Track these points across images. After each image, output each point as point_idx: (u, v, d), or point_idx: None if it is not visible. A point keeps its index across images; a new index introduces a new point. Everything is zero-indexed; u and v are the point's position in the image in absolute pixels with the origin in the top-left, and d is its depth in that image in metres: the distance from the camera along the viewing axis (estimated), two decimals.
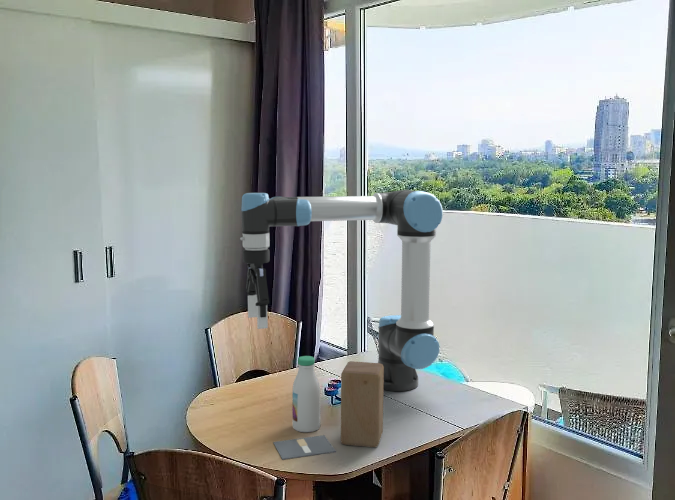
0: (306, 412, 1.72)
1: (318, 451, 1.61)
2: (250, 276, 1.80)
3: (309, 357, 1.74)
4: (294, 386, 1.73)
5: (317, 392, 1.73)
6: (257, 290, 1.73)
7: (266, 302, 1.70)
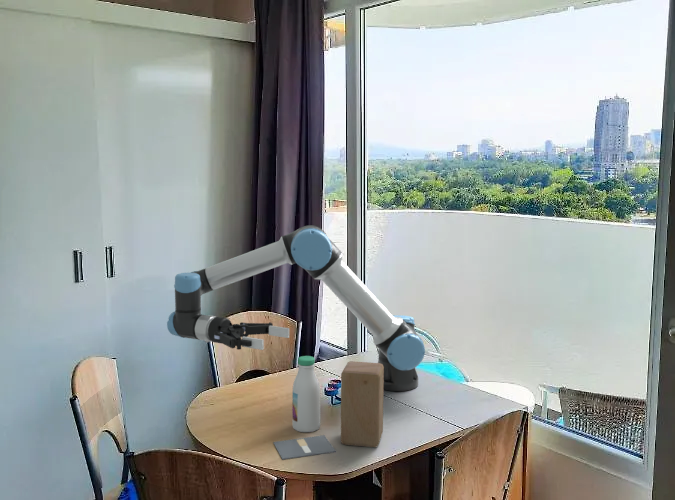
0: (306, 412, 1.72)
1: (318, 451, 1.61)
2: (241, 335, 1.85)
3: (309, 357, 1.74)
4: (294, 386, 1.73)
5: (317, 392, 1.73)
6: None
7: (231, 341, 1.72)
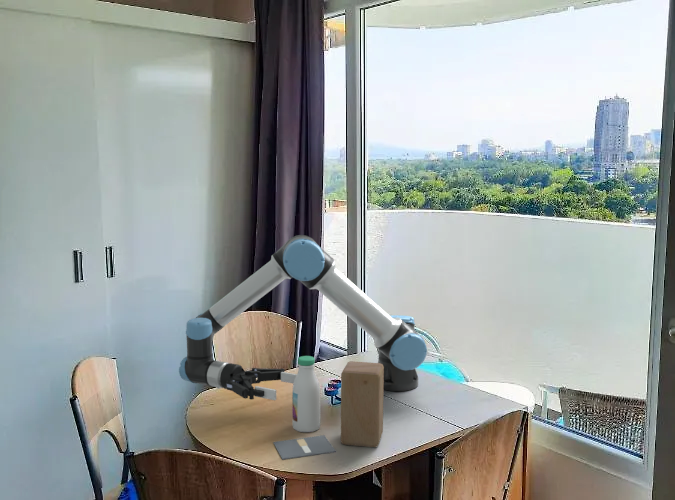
0: (306, 412, 1.72)
1: (318, 451, 1.61)
2: None
3: (309, 357, 1.74)
4: (294, 386, 1.73)
5: (317, 392, 1.73)
6: None
7: (244, 392, 1.71)
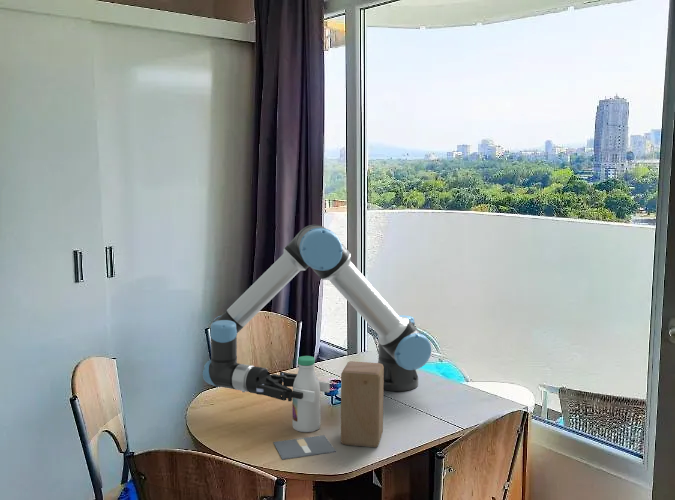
0: (306, 412, 1.72)
1: (318, 451, 1.61)
2: None
3: (309, 357, 1.74)
4: (294, 386, 1.73)
5: (317, 392, 1.73)
6: None
7: (283, 394, 1.70)
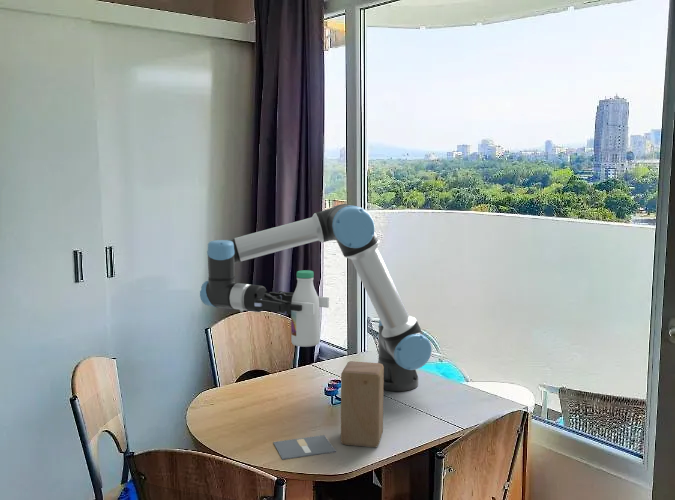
0: (305, 326, 1.69)
1: (318, 451, 1.61)
2: None
3: (308, 271, 1.71)
4: (293, 300, 1.70)
5: (316, 306, 1.70)
6: None
7: (281, 306, 1.66)
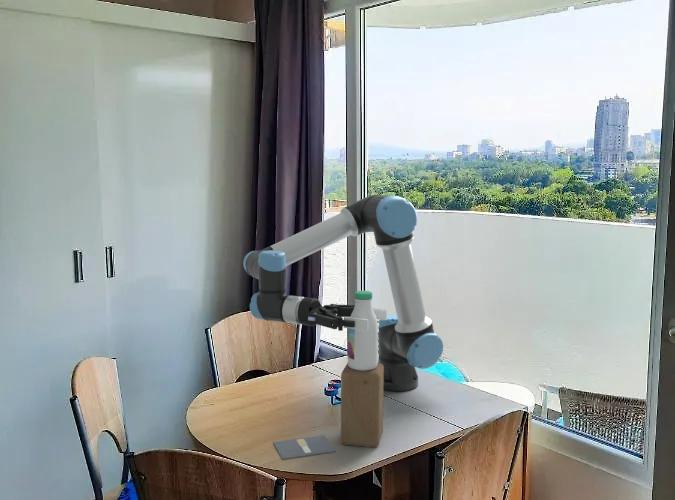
0: (364, 349, 1.62)
1: (318, 451, 1.61)
2: None
3: (366, 291, 1.64)
4: None
5: (375, 328, 1.63)
6: None
7: (333, 322, 1.58)
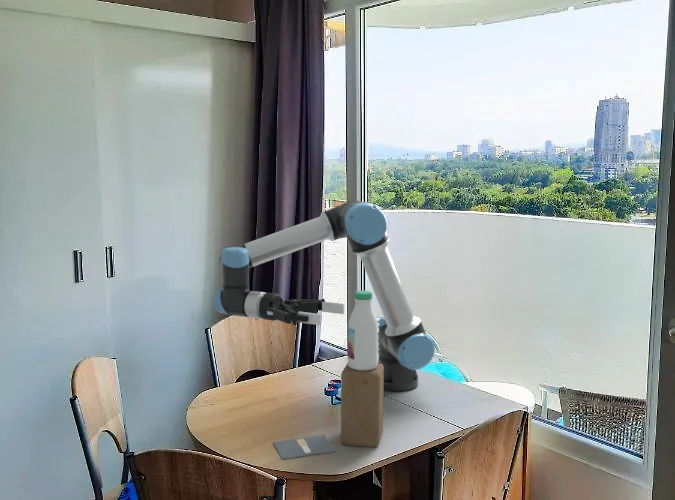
0: (364, 349, 1.62)
1: (318, 451, 1.61)
2: None
3: (366, 291, 1.64)
4: (351, 322, 1.63)
5: (375, 328, 1.63)
6: None
7: (287, 317, 1.63)
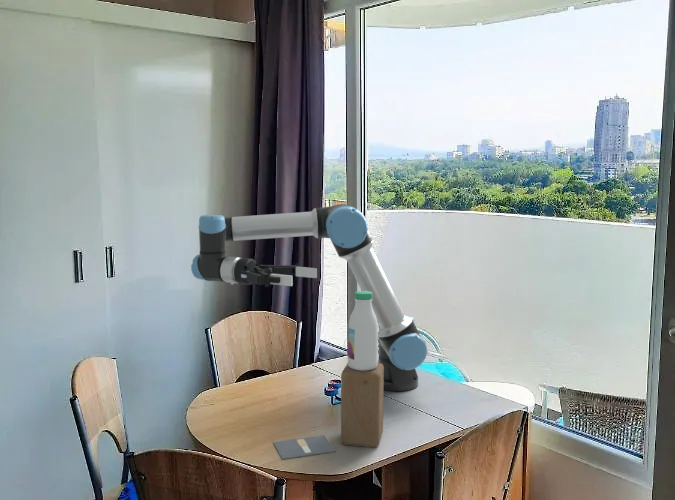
0: (364, 349, 1.62)
1: (318, 451, 1.61)
2: None
3: (366, 291, 1.64)
4: (351, 322, 1.63)
5: (375, 328, 1.63)
6: None
7: (259, 278, 1.68)
